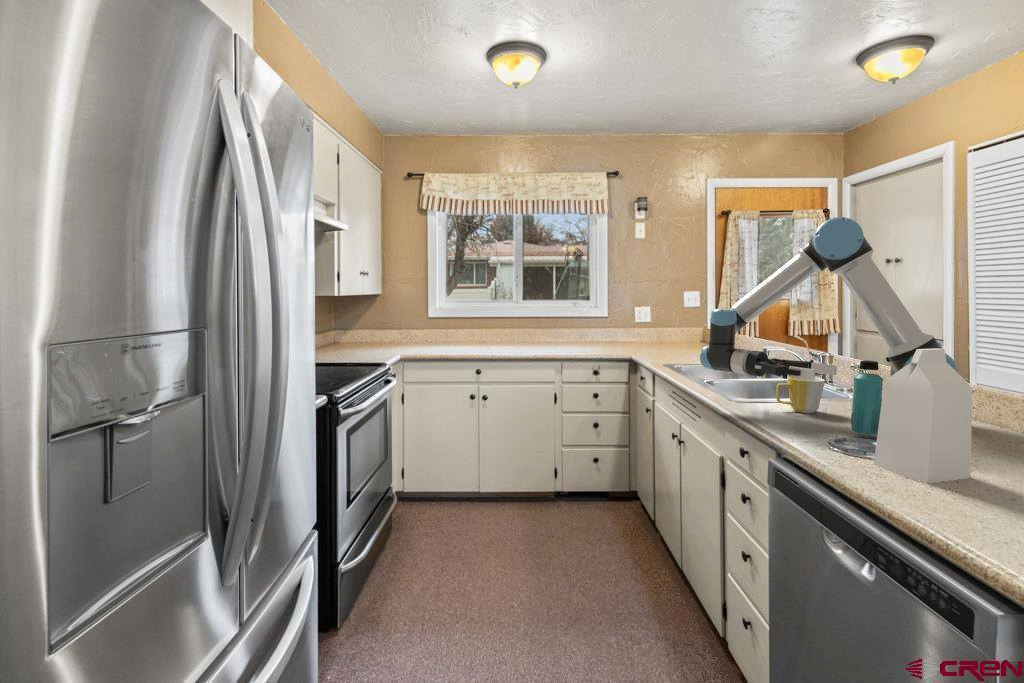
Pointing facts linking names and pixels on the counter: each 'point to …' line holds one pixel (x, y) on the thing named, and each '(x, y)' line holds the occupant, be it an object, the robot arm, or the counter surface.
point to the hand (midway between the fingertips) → (825, 372)
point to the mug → (803, 393)
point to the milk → (926, 421)
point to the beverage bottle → (867, 400)
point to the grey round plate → (853, 446)
